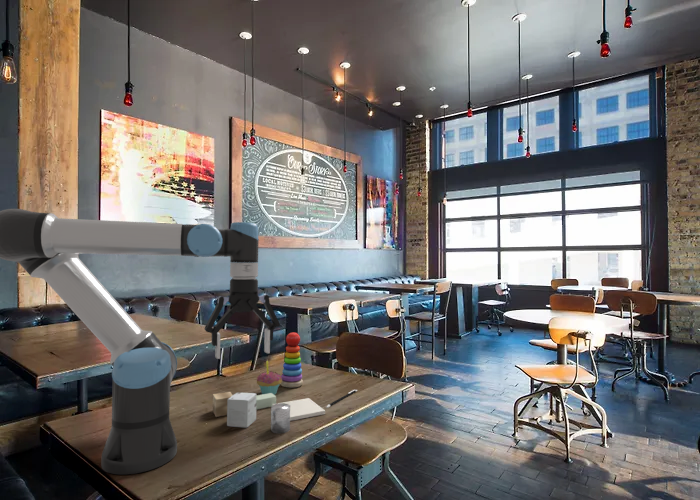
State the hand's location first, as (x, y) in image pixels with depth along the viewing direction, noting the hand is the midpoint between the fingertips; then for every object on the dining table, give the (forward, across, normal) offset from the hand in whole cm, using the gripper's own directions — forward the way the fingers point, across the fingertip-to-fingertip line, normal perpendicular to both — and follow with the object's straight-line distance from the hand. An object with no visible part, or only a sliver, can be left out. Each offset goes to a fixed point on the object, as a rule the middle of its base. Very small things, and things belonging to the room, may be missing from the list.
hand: (243, 355), depth 111 cm
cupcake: (+19, +14, +20) cm, 31 cm away
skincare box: (+19, 0, 0) cm, 19 cm away
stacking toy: (+19, +24, +25) cm, 39 cm away
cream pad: (+19, +17, +1) cm, 25 cm away
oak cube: (+19, -3, +10) cm, 21 cm away
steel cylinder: (+19, +8, -9) cm, 22 cm away
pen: (+19, +34, +4) cm, 39 cm away
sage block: (+19, +9, +10) cm, 23 cm away
